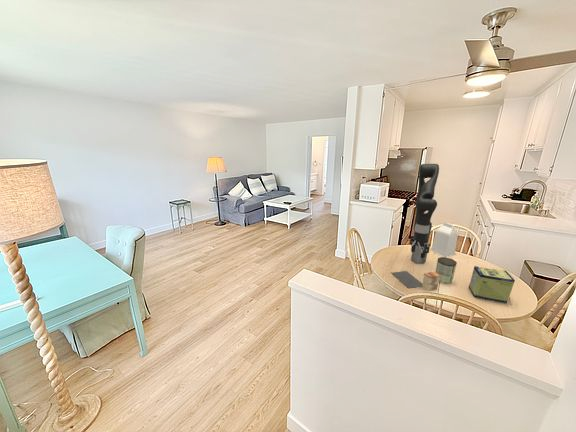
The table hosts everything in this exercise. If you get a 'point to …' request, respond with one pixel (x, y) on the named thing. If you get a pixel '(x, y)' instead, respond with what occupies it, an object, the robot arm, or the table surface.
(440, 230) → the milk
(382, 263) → the table surface
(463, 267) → the table surface
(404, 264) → the table surface
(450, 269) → the coffee can
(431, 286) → the block
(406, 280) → the mat
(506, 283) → the protein box
